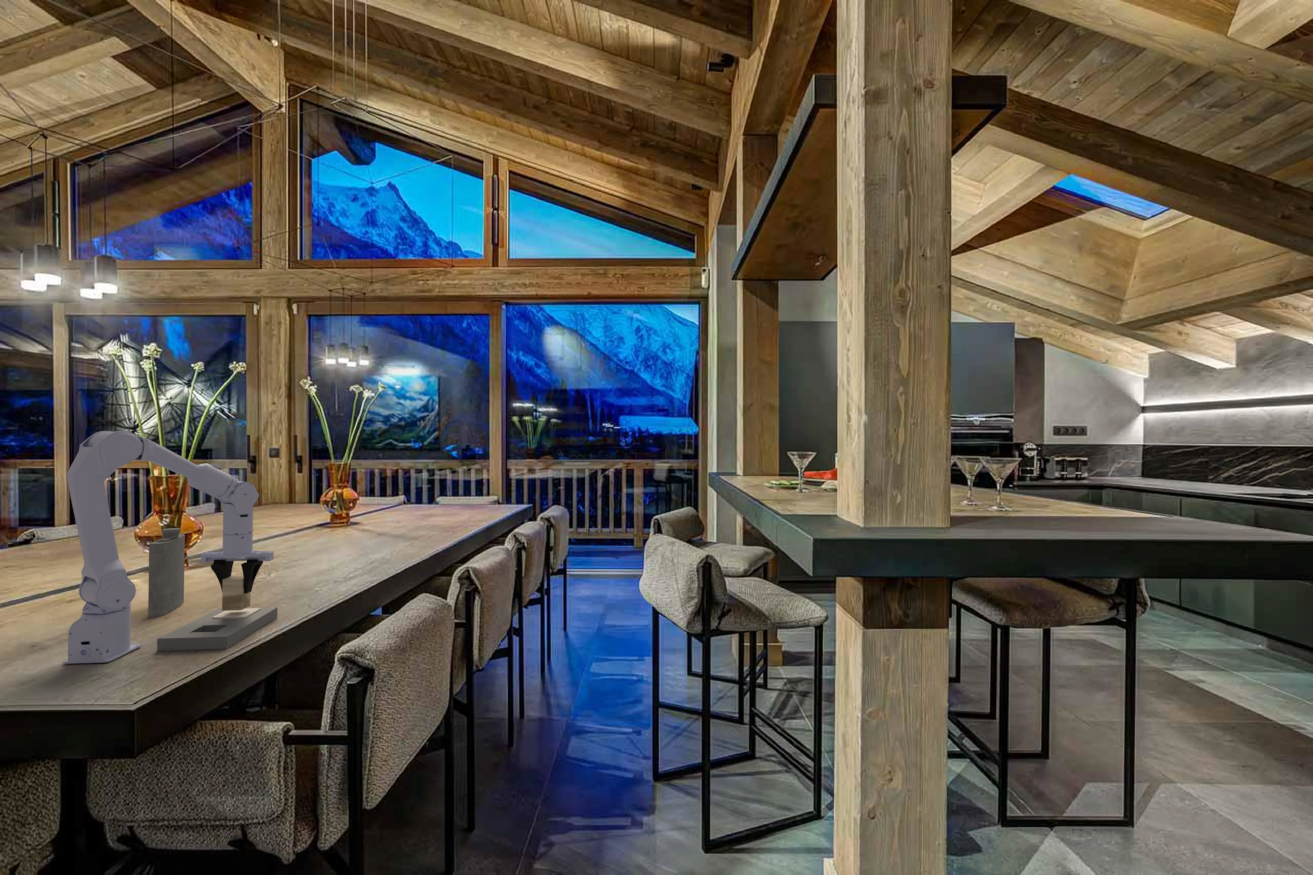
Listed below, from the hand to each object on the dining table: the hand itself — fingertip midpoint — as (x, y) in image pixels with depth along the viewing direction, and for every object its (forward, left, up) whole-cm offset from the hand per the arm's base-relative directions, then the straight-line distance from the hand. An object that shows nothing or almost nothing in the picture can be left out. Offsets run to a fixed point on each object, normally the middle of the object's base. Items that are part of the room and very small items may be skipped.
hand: (237, 592), depth 143 cm
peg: (0, 0, -3) cm, 4 cm away
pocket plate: (-6, 0, -7) cm, 10 cm away
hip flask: (+16, +23, -8) cm, 29 cm away
